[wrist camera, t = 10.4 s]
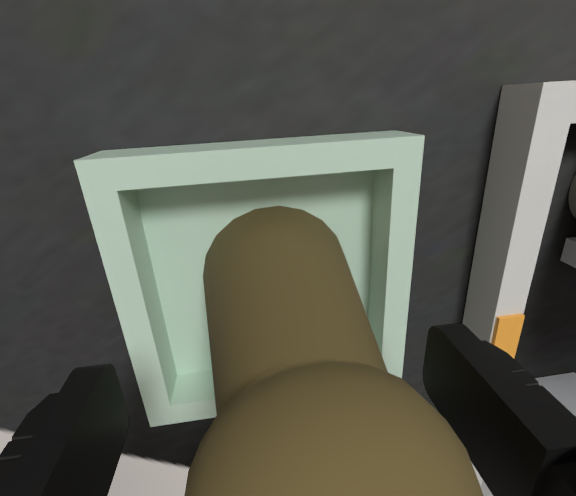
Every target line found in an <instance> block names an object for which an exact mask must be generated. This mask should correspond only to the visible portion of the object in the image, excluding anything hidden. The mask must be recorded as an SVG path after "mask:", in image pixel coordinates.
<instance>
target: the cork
mask: <svg viewBox="0 0 576 496" xmlns="http://www.w3.org/2000/svg"><path fill="white" fill-rule="evenodd" d="M203 283H204V293H205V303H206V313H207V323H208V333H209V343H210V353H211V364H212V374H213V384H214V394H215V404H216V414H217V416H216V418H215V419H214V421H213V422H212V424H211V425H210V427H209V429H208V430H207V432H206V433H205V435H204V436H203V438H202V440H201V441H200V444H199V446H198V449H197V451H196V454H195V456H194V459H193V461H192V464H191V466H190V469H189V472H188V478H187V484H186V491H185V496H483V493H482V490H481V487H480V484H479V481H478V479H477V476H476V473H475V471H474V468H473V465H472V463H471V460H470V458H469V455H468V452H467V450H466V448H465V446H464V445H463V444H462V442H461V441H460V439H459V438H458V436H457V435H456V433H455V432H454V430H453V429H452V428H451V426H450V425H449V423H448V422H447V420H446V419H445V418H444V417H443V416H442V415H441V414H440V413H439V412H438V411H436V410H435V409H434V408H433V407H432V406H431V405H430V404H429V403H428V402H427V401H426V400H425V399H424V398H423V397H422V396H421V395H420V394H418V393H417V392H416V391H415V390H414V389H413V388H412V387H411V386H410V385H409V384H408V383H406V382H405V381H404V380H403V379H402V378H400V377H397V376H395V375H392V374H390V373H388V371H387V368H386V366H385V363H384V360H383V358H382V355H381V352H380V350H379V347H378V344H377V341H376V339H375V336H374V333H373V331H372V328H371V325H370V322H369V320H368V317H367V314H366V312H365V309H364V306H363V304H362V301H361V298H360V295H359V293H358V290H357V287H356V285H355V282H354V279H353V277H352V274H351V271H350V268H349V266H348V263H347V260H346V258H345V255H344V252H343V250H342V248H341V245H340V243H339V240H338V238H337V236H336V235H335V233H334V232H333V231H332V230H331V229H330V228H329V227H328V226H327V225H326V224H325V223H324V221H323V220H321V219H319V218H317V217H316V216H314V215H312V214H310V213H308V212H306V211H304V210H302V209H296V208H291V207H285V206H272V207H265V208H258V209H254V210H252V211H250V212H248V213H245V214H243V215H241V216H239V217H237V218H235V219H233V220H232V221H231V222H230V223H229V224H228V225H227V226H226V227H224V228H223V229H222V230H221V231H220V232H219V233H218V234H217V235H216V237H215V238H214V240H213V242H212V244H211V246H210V248H209V250H208V252H207V254H206V257H205V264H204V271H203Z"/></svg>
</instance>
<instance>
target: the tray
mask: <svg viewBox="0 0 576 496" xmlns="http://www.w3.org/2000/svg"><path fill="white" fill-rule="evenodd" d="M424 137H425V135H420V134H414V133H408V132H402V131H396V130H391V131H376V132H362V133H348V134H333V135H319V136H305V137H290V138H276V139H262V140H247V141H233V142H219V143H204V144H190V145H175V146H161V147H147V148H132V149H118V150H104V151H100V152H97V153H94V154H91V155H88V156H85V157H83V158H80V159H77V160H74V164H75V167H76V171H77V174H78V178H79V181H80V184H81V188H82V191H83V195H84V198H85V202H86V205H87V209H88V212H89V216H90V219H91V223H92V226H93V230H94V233H95V237H96V240H97V244H98V247H99V251H100V254H101V257H102V261H103V264H104V268H105V271H106V275H107V278H108V282H109V285H110V289H111V292H112V296H113V299H114V303H115V306H116V310H117V313H118V317H119V320H120V324H121V327H122V331H123V334H124V337H125V341H126V344H127V348H128V351H129V355H130V358H131V362H132V365H133V369H134V372H135V376H136V379H137V383H138V386H139V390H140V393H141V397H142V400H143V404H144V407H145V410H146V414H147V417H148V421H149V424H150V427H154V426H161V425H168V424H174V423H181V422H188V421H194V420H201V419H208V418H214V417H216V416H217V414H216V404H215V394H214V384H213V374H212V364H211V353H210V343H209V333H208V323H207V313H206V303H205V293H204V283H203V271H204V264H205V257H206V254H207V252H208V250H209V248H210V246H211V244H212V242H213V240H214V238H215V237H216V235H217V234H218V233H219V232H220V231H221V230H222V229H223V228H224V227H226V226H227V225H228V224H229V223H230V222H231V221H232V220H233V219H235V218H237V217H239V216H241V215H243V214H245V213H248V212H250V211H252V210H254V209H258V208H265V207H272V206H285V207H291V208H296V209H302V210H304V211H306V212H308V213H310V214H312V215H314V216H316V217H317V218H319V219H321V220H323V221H324V223H325V224H326V225H327V226H328V227H329V228H330V229H331V230H332V231H333V232H334V233H335V235H336V236H337V238H338V240H339V243H340V245H341V248H342V250H343V252H344V255H345V258H346V260H347V263H348V266H349V268H350V271H351V274H352V277H353V279H354V282H355V285H356V287H357V290H358V293H359V295H360V298H361V301H362V304H363V306H364V309H365V312H366V314H367V317H368V320H369V322H370V325H371V328H372V331H373V333H374V336H375V339H376V341H377V344H378V347H379V350H380V352H381V355H382V358H383V360H384V363H385V366H386V368H387V371H388V373H390V374H392V375H395V376H397V377H400V378H402V371H403V360H404V349H405V339H406V328H407V318H408V307H409V296H410V286H411V275H412V265H413V254H414V243H415V233H416V222H417V212H418V201H419V190H420V180H421V169H422V159H423V148H424Z"/></svg>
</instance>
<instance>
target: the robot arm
mask: <svg viewBox="0 0 576 496" xmlns="http://www.w3.org/2000/svg"><path fill="white" fill-rule="evenodd" d="M423 382H424V386H425V389H426V391H427V393H428V395H429V397H430V399H431V400H432V402H433V403H434V405H435V406H436V408H437V410H438V411H439V413H440V414H441V415H442V416H443V417H444V418H445V419H446V420H447V422H448V423H449V425H450V426H451V428H452V429H453V430H454V432H455V433H456V435H457V436H458V438H459V439H460V441H461V442H462V444H463V445H464V446H465V448H466V450H467V452H468V455H469V458H470V460H471V462H472V464H473V465H474V467H475V468H476V470H477V471H478V473H479V475H480V476H481V478H482V479H483V481H484V482H485V484H486V485H487V487H488V488H489V490H490V492H491V493H492V495H493V496H576V416H574V415H573V414H572V413H571V412H570V411H569V410H568V409H567V408H566V407H565V406H564V405H563V404H562V403H561V402H559V401H558V400H557V399H556V398H555V397H554V396H553V395H552V394H551V393H550V392H549V391H548V390H547V389H546V388H545V387H543V386H542V385H541V386H540V385H539V383H538V381H537V380H536V379H535V378H534V377H533V376H532V375H531V374H530V373H528V372H525V371H524V368H523V367H522V366H521V365H520V364H519V363H518V362H517V361H516V360H515V359H514V358H512V357H511V356H510V355H509V354H508V353H507V352H505V351H504V350H502V349H500V348H498V347H497V346H495V345H493V344H491V343H490V342H488V341H486V340H483V341H481V340H480V339H479V338H478V337H477V336H476V335H475V334H474V333H473V332H472V331H471V330H470V329H469V328H468V327H467V326H465V325H464V324H462V323H455V324H447V325H438V326H432V327H431V328H430V329H429V332H428V338H427V345H426V351H425V358H424V365H423ZM127 432H128V411H127V407H126V404H125V400H124V397H123V394H122V390H121V387H120V384H119V380H118V377H117V374H116V371H115V368H114V366H113V365H112V364H104V365H95V366H87V367H78V368H75V369H74V370H73V371H72V372H71V374H70V375H69V377H68V379H67V380H66V382H65V384H64V385H63V387H62V388H61V390H60V392H59V393H54V394H49V395H48V396H47V397H46V398H45V399H44V400H42V401H41V402H40V403H39V404H38V405H37V406H36V407H35V408H33V409H32V410H31V411H30V412H29V413H28V414H27V415H26V417H25V418H24V420H23V421H22V423H21V424H20V426H19V427H18V429H17V430H16V432H15V433H14V435H13V436H12V441H10V442H8V444H7V445H6V447H5V448H4V450H3V451H2V453H1V454H0V496H107V495H108V492H109V489H110V485H111V483H112V479H113V476H114V473H115V470H116V467H117V464H118V461H119V458H120V455H121V452H122V449H123V446H124V443H125V440H126V437H127Z"/></svg>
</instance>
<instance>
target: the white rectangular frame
mask: <svg viewBox="0 0 576 496" xmlns="http://www.w3.org/2000/svg"><path fill="white" fill-rule="evenodd" d="M571 123H576V81H559V82H542V83H527V84H512V85H502V91H501V96H500V102H499V108H498V114H497V120H496V126H495V132H494V138H493V144H492V150H491V156H490V162H489V168H488V174H487V180H486V186H485V192H484V198H483V204H482V209H481V215H480V221H479V227H478V233H477V239H476V245H475V251H474V257H473V263H472V269H471V275H470V281H469V287H468V293H467V299H466V305H465V311H464V317H463V322H462V324H464V325H465V326H467V327H468V328H469V329H470V330H471V331H472V332H473V333H474V334H475V335H476V336H477V337H478V338H479V339H480V340H481V341H483V340H486V341H488V342H490V343H491V344H493V345H495V346H497V347H498V348H500V349H502V350H504V351H505V352H507V353H508V354H509V355H510V356H511V357H512V358H515V354H516V350H517V346H518V342H519V338H520V334H521V330H522V326H523V322H524V318H525V316H524V315H523V314H524V310H525V306H526V302H527V298H528V294H529V289H530V285H531V281H532V277H533V273H534V269H535V265H536V261H537V257H538V253H539V249H540V245H541V241H542V237H543V233H544V229H545V225H546V220H547V216H548V212H549V208H550V204H551V200H552V196H553V192H554V188H555V184H556V180H557V176H558V172H559V168H560V164H561V160H562V156H563V152H564V147H565V143H566V139H567V135H568V131H569V127H570V124H571ZM560 261H562V262H564V263H566V264H568V265H570V266H572V267H574V268H576V237H570V238H566V241H565V244H564V248H563V252H562V255H561V259H560ZM535 379H536V380H537V381H538V383H539V385H540V386H541V385H542V386H543V387H545V388H546V389H547V390H548V391H549V392H550V393H551V394H552V395H553V396H554V397H555V398H556V399H557V400H558V401H559V402H561V403H562V404H563V405H564V406H565V407H566V408H567V409H568V410H569V411H570V412H571V413H572V414H573V415H574V416H576V373H575V372H572V373H566V374H559V375H552V376H546V377H539V378H535ZM471 463H472V462H471ZM472 465H473V464H472ZM473 468H474V471H475V473H476V476H477V479H478V481H479V484H480V487H481V490H482V493H483V496H493V495H492V493H491V492H490V490H489V488H488V487H487V485H486V484H485V482H484V481H483V479H482V478H481V476H480V475H479V473H478V471H477V470H476V468H475V467H474V465H473Z"/></svg>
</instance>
